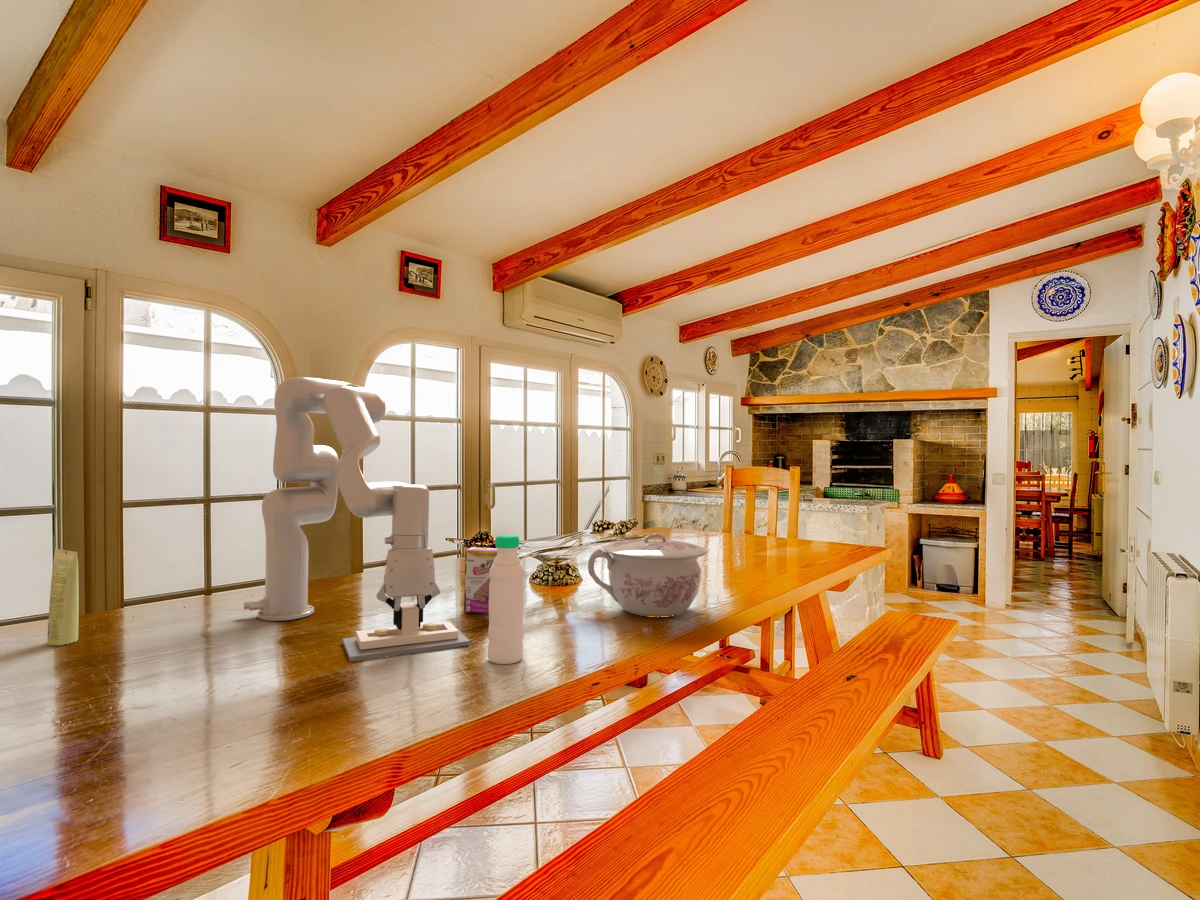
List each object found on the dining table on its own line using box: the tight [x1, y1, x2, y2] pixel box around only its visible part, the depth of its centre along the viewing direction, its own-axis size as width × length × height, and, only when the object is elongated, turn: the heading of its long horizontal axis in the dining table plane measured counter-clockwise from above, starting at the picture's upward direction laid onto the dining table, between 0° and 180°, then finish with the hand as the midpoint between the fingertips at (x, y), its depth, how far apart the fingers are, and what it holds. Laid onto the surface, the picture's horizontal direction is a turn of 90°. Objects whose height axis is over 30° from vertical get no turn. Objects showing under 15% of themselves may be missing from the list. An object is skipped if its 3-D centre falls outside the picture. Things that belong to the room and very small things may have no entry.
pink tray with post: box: [355, 601, 460, 650], centre depth 134 cm, size 20×8×7 cm, turn 118°
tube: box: [47, 548, 80, 646], centre depth 131 cm, size 6×5×20 cm
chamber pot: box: [587, 533, 708, 617], centre depth 165 cm, size 28×28×21 cm
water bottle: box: [487, 534, 525, 665], centre depth 126 cm, size 7×7×25 cm
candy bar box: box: [463, 546, 498, 615], centre depth 161 cm, size 11×5×16 cm, turn 84°
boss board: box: [342, 622, 470, 663], centre depth 134 cm, size 24×13×4 cm, turn 118°
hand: (408, 626), depth 134 cm, fingers closed on pink tray with post, 3 cm apart
